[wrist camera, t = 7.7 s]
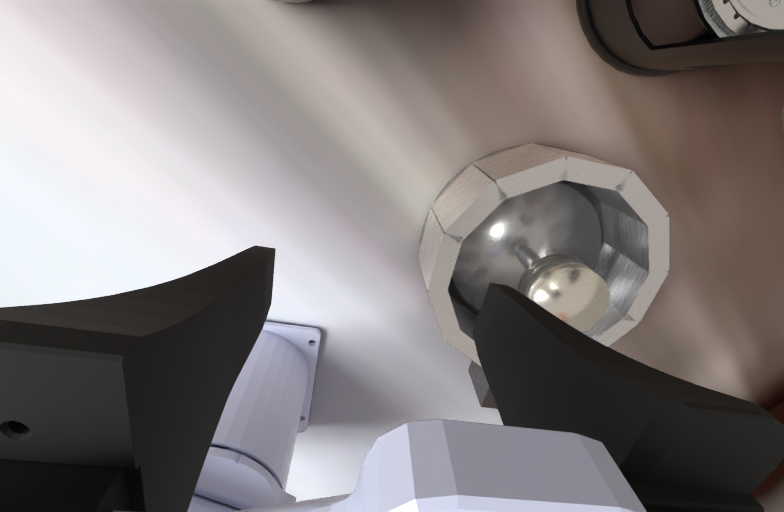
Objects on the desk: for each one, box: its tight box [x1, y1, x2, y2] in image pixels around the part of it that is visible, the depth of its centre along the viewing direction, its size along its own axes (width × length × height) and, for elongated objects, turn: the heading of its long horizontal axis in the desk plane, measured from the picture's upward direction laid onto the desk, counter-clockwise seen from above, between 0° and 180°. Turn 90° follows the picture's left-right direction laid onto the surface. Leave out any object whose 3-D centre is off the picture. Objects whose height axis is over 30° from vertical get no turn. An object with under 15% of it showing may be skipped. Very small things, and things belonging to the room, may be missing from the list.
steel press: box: [418, 143, 669, 409], centre depth 21 cm, size 15×12×5 cm
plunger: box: [452, 182, 610, 332], centre depth 19 cm, size 9×9×6 cm
